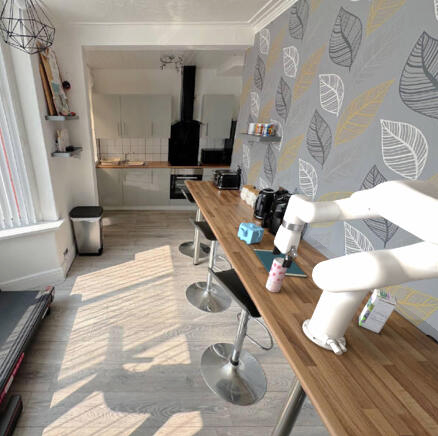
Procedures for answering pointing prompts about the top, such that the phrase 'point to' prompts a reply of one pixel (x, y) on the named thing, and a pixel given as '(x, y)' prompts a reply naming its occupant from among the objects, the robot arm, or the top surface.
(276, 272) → the beverage can
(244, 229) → the light blue box
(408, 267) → the robot arm
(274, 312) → the top surface
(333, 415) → the top surface
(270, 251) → the teal book
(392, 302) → the syrup box
